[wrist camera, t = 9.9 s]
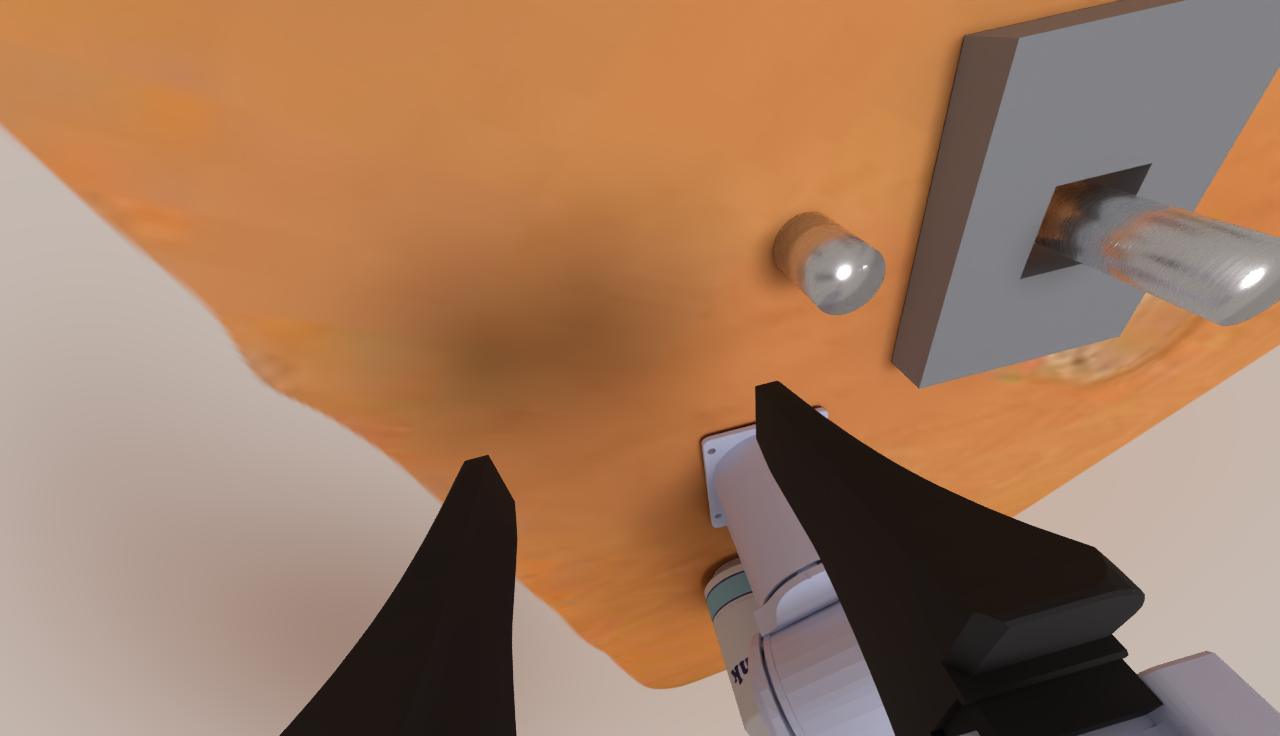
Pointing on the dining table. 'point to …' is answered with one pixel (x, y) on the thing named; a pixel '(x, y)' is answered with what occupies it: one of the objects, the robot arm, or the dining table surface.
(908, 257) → the dining table surface
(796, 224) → the short pin
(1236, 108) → the hole board
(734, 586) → the beverage can
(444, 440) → the dining table surface
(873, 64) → the dining table surface
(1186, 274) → the tall pin
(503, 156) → the dining table surface
